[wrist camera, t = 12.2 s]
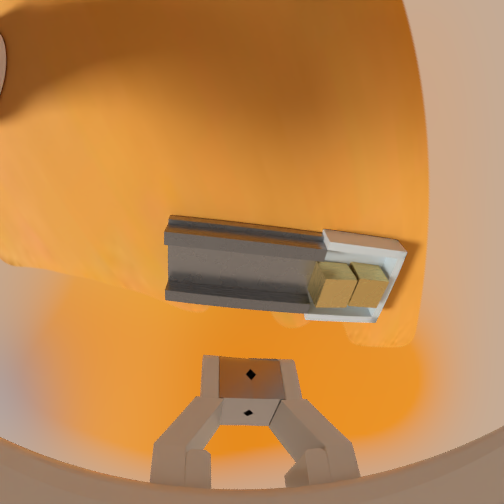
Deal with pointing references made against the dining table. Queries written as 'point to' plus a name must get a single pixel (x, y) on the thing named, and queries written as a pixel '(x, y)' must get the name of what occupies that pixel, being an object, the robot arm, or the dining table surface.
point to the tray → (361, 251)
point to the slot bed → (240, 264)
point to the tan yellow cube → (331, 285)
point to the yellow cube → (367, 285)
